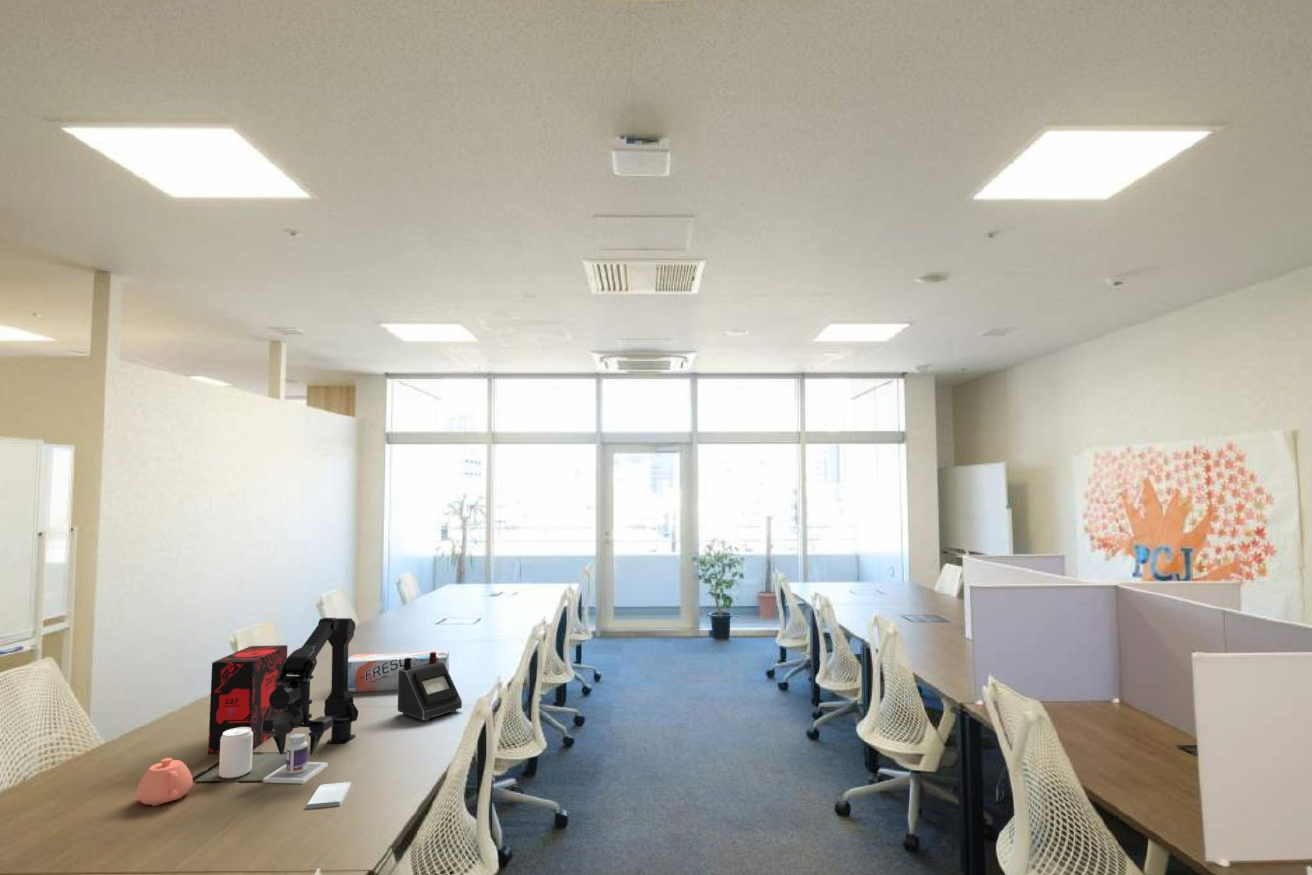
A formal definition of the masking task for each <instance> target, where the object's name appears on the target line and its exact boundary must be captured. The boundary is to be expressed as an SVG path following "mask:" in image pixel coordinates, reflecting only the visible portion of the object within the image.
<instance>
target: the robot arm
mask: <svg viewBox="0 0 1312 875" xmlns="http://www.w3.org/2000/svg"><path fill="white" fill-rule="evenodd" d="M355 630H356V622H355V620H353V619H352V618H351V617H349V618H348V617H343V618H342V617H323V618H320V619H319V620H318V623H317V626H316V627H315V629H314V630H313V631H312V633H311V634H310V635H309V637H308V638H307V640H306V641H305V642H304V643H303V645H302V646H301V647H300V648H297V649H295V650H294V651H292V652H291V654H289V655H288V656H287V659H286V661H285V663H284V665H283V668H282V670H281V673H280V676H279V678H278V682H283V683H279V684H277V689H276V690H274V691H273V692H272V693H271V695H270V697H269V703H270V705H271V707H273V708H274V709H276V710H281V709H284V711H283V713H282V714H281V715H274V716H272V717H270V718H268V719H266V720H264V722H263V723H262V731H267V732H266V734H270V735H271V736H272V738H273V740H274V741H275V744H276V748H277V749H278V753H279V754H280V755H283V754H284V752H285V749H286V740H287V735H289V734H291V732H293V730H294V729H298V728H309V730H310V732H308V736H309V738H310V740H309V741H310V742H309V743H310V744H309V754H310V756H313V755H314V754H315V752H316V749H317V747H318V745H319V743H320V741H321V739H322V737H323V735H324V734H325V732H326V731H327V730H329V729H330V728H331V738H329V739H327V741H326V743H327V744H330V743H331V744H332V743H333V744H346V743H348V742H349V741H351V740H352V739H353V738H356V734H352V723H353V722H357V721H358V717H359V710H358V708H357V707H356V704H354V696H353V694H352V692H350V691H349V690H348V658H349V644H350V642H351V641H352V639H353V638H354V635H355ZM327 641H328V643H329V644H330V646H331V691H330V693H329V694H328V697H327V698H325V699H324V708H323V709H324V710H323V713H324V716H323V715H322V716H318V717H317V718H314V719H312V714H313V713H310V705H311V704H313V699H311V698H310V696H311V680H313V678H314V676H313V675H312V674H313V672H314V670H315V668H316V666H317V664H318V661H317V656H318V654H319V653H320V652H321V650H322V648H324V645H325V644H326V643H327Z"/></svg>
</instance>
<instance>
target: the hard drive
mask: <svg viewBox="0 0 1312 875" xmlns="http://www.w3.org/2000/svg"><path fill="white" fill-rule="evenodd" d="M351 786H352V782H351V781H347V782H336V783H334V782H333V783H327V784H326V783H325V784H324V783H323V784H320V785H318V787H317V788H316V790H315V792H314V793H313V795H312V796H311V797H310V799H309V801H308V802H307V803H306V805H305V809H319V808H320V809H321V808H327V807H328V808H330V807H337V806H341V805H342V803H343V801H344V800H345V798H346V796H347V793H348V792H349V790H350V788H351Z"/></svg>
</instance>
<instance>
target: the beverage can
mask: <svg viewBox="0 0 1312 875" xmlns="http://www.w3.org/2000/svg"><path fill="white" fill-rule="evenodd" d="M252 749H253V732H252V731H251V728H249V727H239V728H233V729H230V730H227V731H225V732H223V735H222V737H221V739H220V754H219V763H218V764H219V768H218V776H220V778H223V779H235V778H239V777H243V776H244V775H246V774H248V773H250V771H252V768H253V751H252Z"/></svg>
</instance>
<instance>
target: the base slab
mask: <svg viewBox="0 0 1312 875" xmlns="http://www.w3.org/2000/svg"><path fill="white" fill-rule="evenodd" d="M328 767H329V762H317V761H315V762H314V761H313V762H312V761H307V769H306V770H304V771H303V772H300V773H295V774H289V773H287V772H286V763H285V764H284V765H282V766H281V767H279V768H277V769H276V770H274V771H273V772H271V773H270V774H267V775H266V776H265V777H263V778H262V783H273V784H274V783H275V784H276V783H279V784H303V785H304V784H305V783H306V782H308V781H309V780H311V779H312V778H314V777H315V776H316V775H318V774H320V773H321V772H322V771H324V770H325V769H327V768H328Z"/></svg>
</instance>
